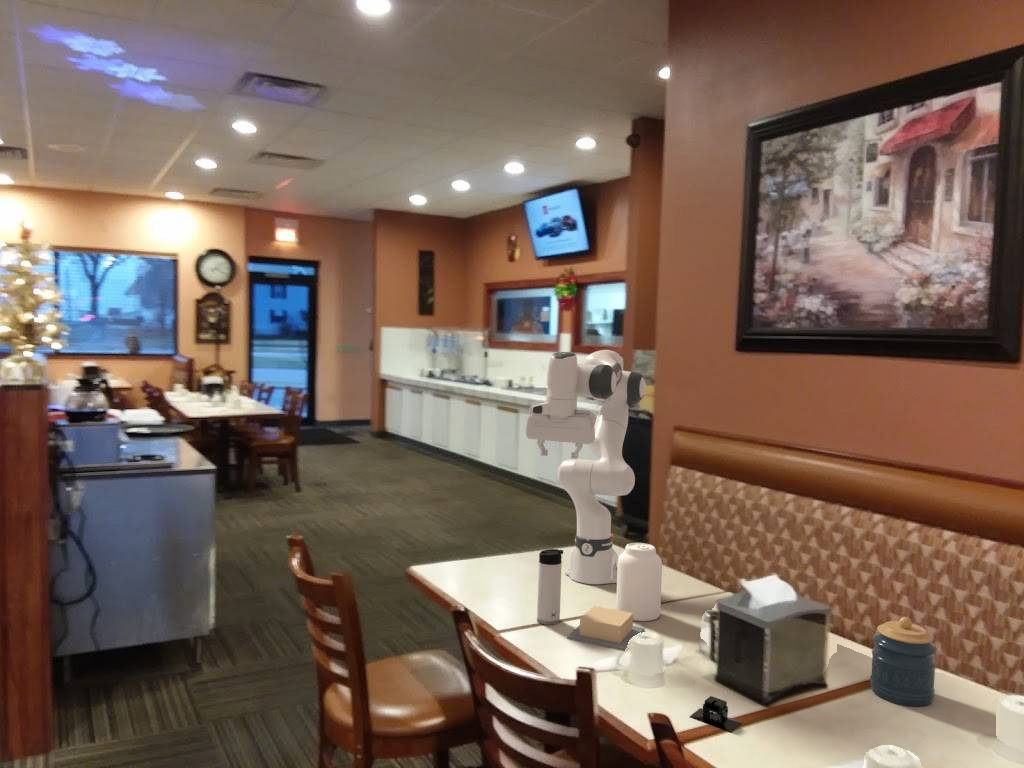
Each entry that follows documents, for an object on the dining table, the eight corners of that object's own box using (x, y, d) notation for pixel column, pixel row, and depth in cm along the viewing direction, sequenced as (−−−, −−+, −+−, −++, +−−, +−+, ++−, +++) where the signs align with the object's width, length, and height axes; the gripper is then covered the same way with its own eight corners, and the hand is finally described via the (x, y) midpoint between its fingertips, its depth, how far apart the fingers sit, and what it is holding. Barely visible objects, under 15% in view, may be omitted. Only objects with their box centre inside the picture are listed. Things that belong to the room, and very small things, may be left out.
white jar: (668, 614, 220) (671, 546, 218) (644, 625, 210) (647, 554, 209) (632, 603, 228) (634, 537, 227) (607, 613, 219) (609, 544, 218)
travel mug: (559, 626, 208) (561, 553, 207) (535, 624, 209) (537, 551, 208) (562, 618, 214) (564, 547, 213) (539, 616, 215) (541, 546, 214)
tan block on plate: (588, 619, 214) (589, 601, 214) (644, 630, 207) (644, 611, 207) (567, 638, 200) (567, 619, 199) (626, 650, 193) (626, 631, 192)
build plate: (679, 719, 160) (680, 697, 160) (695, 707, 165) (696, 685, 165) (736, 739, 152) (737, 716, 152) (751, 725, 157) (751, 703, 157)
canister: (860, 680, 180) (864, 606, 179) (916, 682, 179) (920, 608, 178) (885, 706, 167) (889, 627, 166) (945, 709, 166) (950, 629, 165)
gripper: (599, 410, 216) (597, 459, 217) (533, 406, 225) (531, 452, 226) (591, 412, 211) (589, 461, 211) (524, 407, 220) (522, 455, 220)
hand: (559, 457), depth 219 cm, fingers open, 8 cm apart
